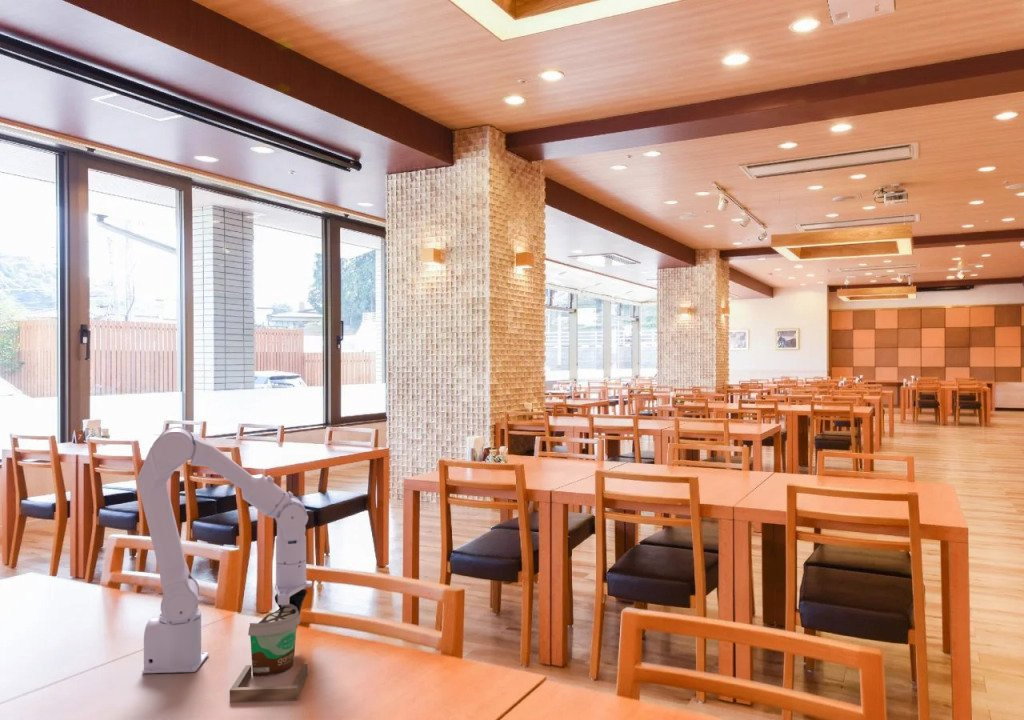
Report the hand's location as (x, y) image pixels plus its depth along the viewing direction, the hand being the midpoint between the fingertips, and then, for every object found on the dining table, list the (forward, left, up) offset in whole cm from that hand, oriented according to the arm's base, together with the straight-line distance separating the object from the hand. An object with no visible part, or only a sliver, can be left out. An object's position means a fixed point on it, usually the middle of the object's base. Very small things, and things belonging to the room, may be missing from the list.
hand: (291, 629), depth 149 cm
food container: (0, -8, -4) cm, 9 cm away
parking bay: (0, -17, -4) cm, 17 cm away
